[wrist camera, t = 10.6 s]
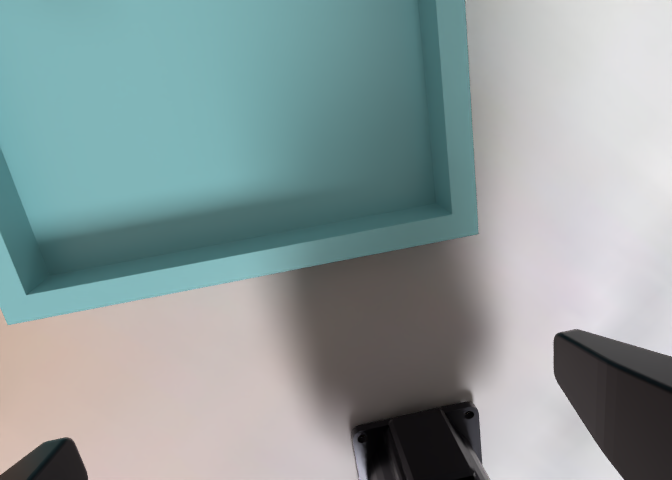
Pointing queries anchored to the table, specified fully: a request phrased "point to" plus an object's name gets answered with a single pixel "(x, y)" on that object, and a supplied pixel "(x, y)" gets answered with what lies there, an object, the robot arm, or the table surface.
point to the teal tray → (223, 142)
